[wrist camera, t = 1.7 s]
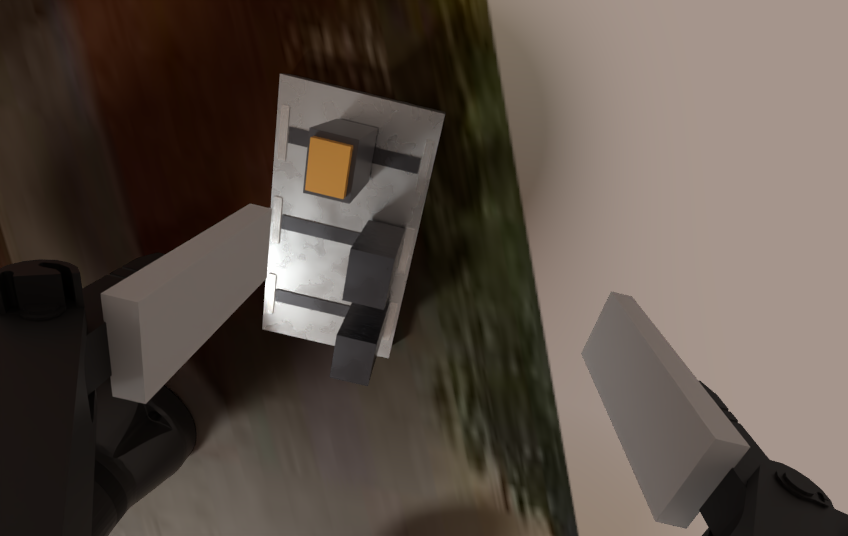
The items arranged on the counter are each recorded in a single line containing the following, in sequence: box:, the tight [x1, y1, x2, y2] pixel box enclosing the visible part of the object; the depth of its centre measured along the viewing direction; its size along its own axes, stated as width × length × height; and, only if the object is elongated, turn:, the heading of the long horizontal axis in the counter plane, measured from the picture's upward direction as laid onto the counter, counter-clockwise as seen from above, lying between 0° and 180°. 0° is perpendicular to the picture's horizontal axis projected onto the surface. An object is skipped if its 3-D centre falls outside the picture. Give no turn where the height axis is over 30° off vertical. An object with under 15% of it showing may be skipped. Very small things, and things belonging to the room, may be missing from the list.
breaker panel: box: [262, 74, 446, 386], centre depth 32 cm, size 12×22×8 cm, turn 167°
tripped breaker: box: [303, 118, 378, 204], centre depth 28 cm, size 3×4×7 cm
